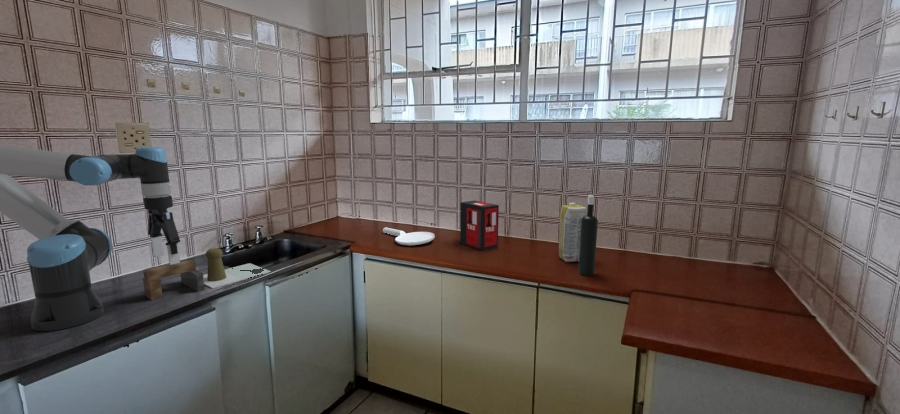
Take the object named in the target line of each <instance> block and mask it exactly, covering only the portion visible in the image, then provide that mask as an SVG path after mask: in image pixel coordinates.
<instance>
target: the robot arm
mask: <svg viewBox="0 0 900 414" xmlns="http://www.w3.org/2000/svg"><path fill="white" fill-rule="evenodd" d="M168 167H169V165H168V160H167V155H166V151H165V149H164V148H163V147H161V146H160V147H159V146H149V147H146V146H145V147H143V146H141V147H137V148H136V149H135V153H131V154H129V153H128V154H95V155H94V154H93V155H83V154H74V153H69V152H68V153H67V152H59V151H52V150H45V149H43V150H42V149H35V148H27V147H26V148H25V147H19V146H14V145H13V146H11V145H4V144H0V214H2V215H4V216H5V217H7V218H8V219H9V220H10V221H11V222H13V223H15V224H16V225H18V226H19V227H21V228H22V229H24V230H25V231H26V232H28V233H29V234H31V235H32V236H33V237H35V238H36V239H38V240H36V241H34V242H32V243H30V244H29V245H28V247H27V249H26V255H27V256H26V261H27V263H28V267H29V272H30V277H31V282H32V288H33V291H34V298H35V301H34V304H33V308H32V312H31V316H30V326H31V329H33V330H34V331H38V332H49V331H50V332H51V331H58V330H63V329H69V328H73V327H77V326H80V325H84V324H86V323H90V321H94V320H96V319H97V318H99V317H100V316H102V315H103V314H104V310H105V309H104V304H103V302H102V300H101V299H100V298H99V296H98V295H97V293H96V292H95V290H94V289H93V287H92V280H91V274H90V271H92V269H94V268H95V267H97V266H100V265H101V264H103V262H106V260H107V258H109V256H110V255H111V253H112V250H113V242H112V239H111V236H109V235H108V234H107V233H106V232H105V231H104V230H102V229H99V228H96V227H90V226H88V225H86V224H84V223H83V222H82V221H81V220H78V219H69V218H67V217H66V216H64V215H63V214H62V213H60V212H59V211H58V210H57V209H55V208H53V207H52V206H50V204H48V203H47V202H45V201H44V200H43V199H42V198H40V197H38V196H37V195H36V194H35V193H33V192H32V191H30V190H29V188H26V187H25V186H24V185H22V184H21V183H20V182H19V181H17V180H16V179H14V178H13V177H12V176H16V177H17V176H19V177H29V178H38V179H46V180H55V181H56V180H58V181H69V182H74V183H77V184H81V185H83V186H99V185H102V184H105V183H107V182H108V183H109V182H112V181H116V180H126V179H129V180H130V179H139V180H140V188H141V196H143V199H142V200H143V206H144V209H145V210H147V213H148V215H147V216H148V217H147V219H148V222H147V234H148V236H149V237H150V238H151V239H150V240H151V245H152V252H153V257H154V258H159V257H163V256H165V251H164V245H163V244H164V243H163V238H162V237H163V235H164V238H165V239H166V242H165V246H166V249H167V256H168V262H169V263H168V265H172V264H176V263H180V262H181V261H180V260H181V259H180V252H179V246H178V245H179V243H180V242H181V239H180V236H179V233H178V229H177V227H176V222H175V220H174V216H173V212H171V211H170V212H168V209H170V208H173V206H174V203H173V202H174V201H173V196H172V195H171V193H172V189H171V188H172V186H173V185H172V184H171V183H170V176H169V175H170V173H169V168H168ZM161 231H162V232H161ZM162 233H163V234H162Z"/></svg>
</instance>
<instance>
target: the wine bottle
mask: <svg viewBox="0 0 900 414" xmlns="http://www.w3.org/2000/svg"><path fill="white" fill-rule="evenodd" d="M594 203H595V194H588V195H587V208H586V216H584V217H583V218H582V220H581V236H580V253H579V261H578V274H579V275H581V276H586V277H589V276H590V277H592V276H594V275H595V270H596V269H595V268H596V256H597V255H596V254H597V239H598V225H599V224H598V223H599V220H598V218H597V217H596V216H595V215H593V214H594Z"/></svg>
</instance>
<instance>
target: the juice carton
mask: <svg viewBox="0 0 900 414" xmlns="http://www.w3.org/2000/svg"><path fill="white" fill-rule="evenodd" d="M586 215H587V207H586V206H583V205H580V204H576V202H569V203H568V205H564V204H563V205H561V209H560V221H559V237H558V238H559V239H558V256H559V258H560V259H561V260H562V261H563V262H565V263H570V262H571V263H573V262H579V253H580V236H581V220H582V218H583V217H584V216H586Z"/></svg>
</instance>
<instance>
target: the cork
mask: <svg viewBox="0 0 900 414" xmlns="http://www.w3.org/2000/svg"><path fill="white" fill-rule="evenodd" d="M223 254H224V253H223V250H222V249H221V248H216V247H215V248H209V249H208V250H207V251H206V252H205V257H206V259H207V274H208V276H207V280H208V281H220V280H223V279H225V278H226V274H225V266H224V263H223V260H222V258H223Z"/></svg>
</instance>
